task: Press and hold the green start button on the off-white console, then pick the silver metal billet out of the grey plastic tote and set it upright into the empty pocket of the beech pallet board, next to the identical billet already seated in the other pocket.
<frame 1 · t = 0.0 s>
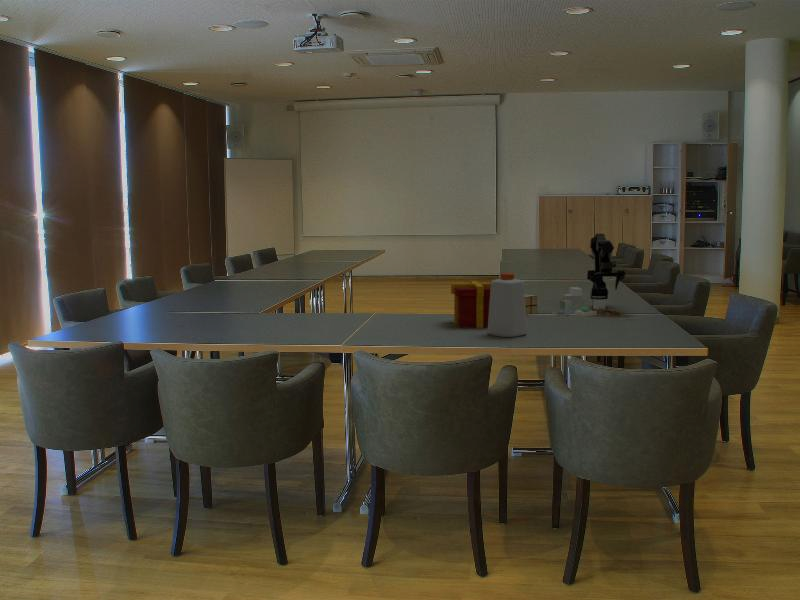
hand: (606, 289, 405), 15 cm above the table, tool tilted 35°, fingers open, 9 cm apart
tote: (565, 315, 420), on the table
pallet board: (604, 315, 417), on the table
button console: (585, 316, 413), on the table
start button: (585, 310, 413), point 4 cm above the table, slide at 0.0 cm
plastic bottle: (507, 335, 364), on the table
gift box: (476, 324, 393), on the table
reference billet: (599, 312, 421), point 1 cm above the table, touching pallet board
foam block: (569, 303, 472), on the table
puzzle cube: (524, 314, 426), on the table
billet: (565, 314, 419), point 1 cm above the table, touching tote
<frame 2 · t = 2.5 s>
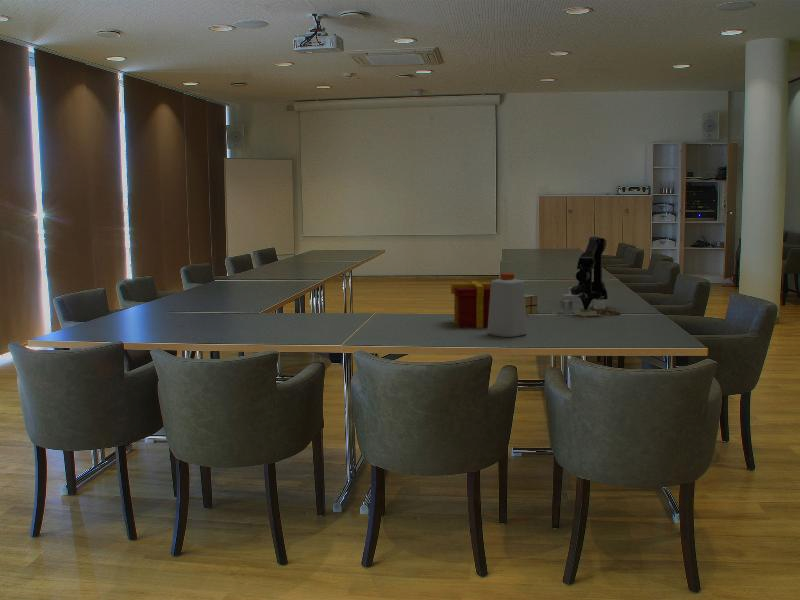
hand: (585, 309, 413), 4 cm above the table, tool pointing down, fingers closed, pressing on start button
start button: (585, 312, 413), point 2 cm above the table, slide at 1.3 cm, touching gripper
everything else where it was.
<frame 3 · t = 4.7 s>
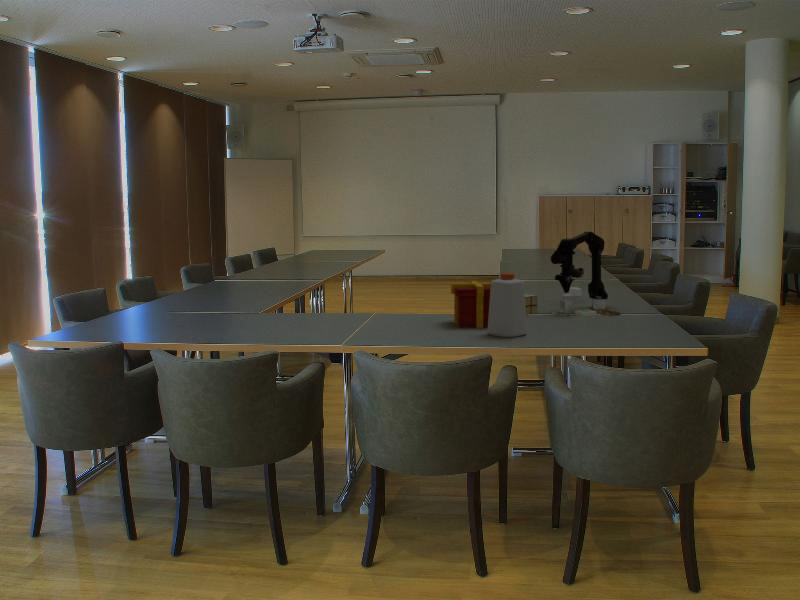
hand: (566, 292, 418), 12 cm above the table, tool pointing down, fingers closed
start button: (585, 312, 413), point 2 cm above the table, slide at 1.3 cm
everything else where it was.
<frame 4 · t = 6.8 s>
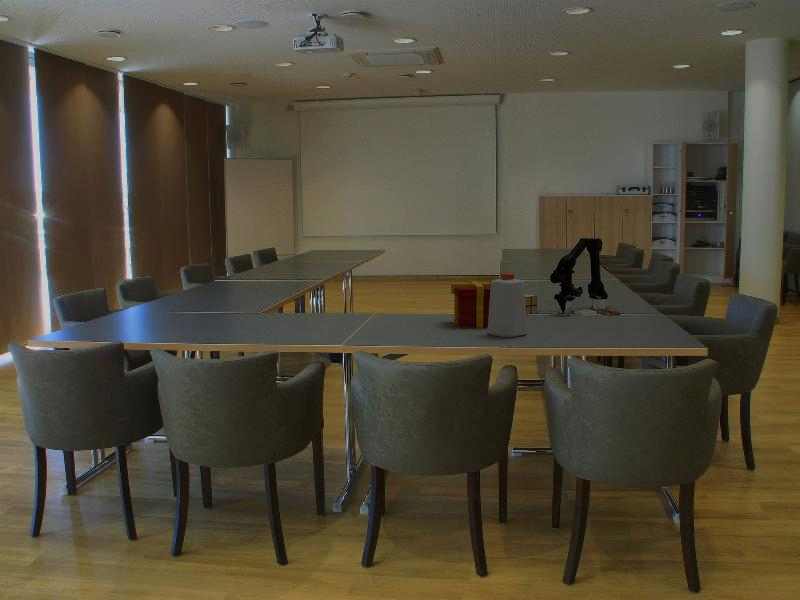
hand: (565, 311, 419), 2 cm above the table, tool pointing down, fingers closed on billet, 6 cm apart
billet: (565, 314, 419), point 1 cm above the table, touching gripper, tote
everything else where it was.
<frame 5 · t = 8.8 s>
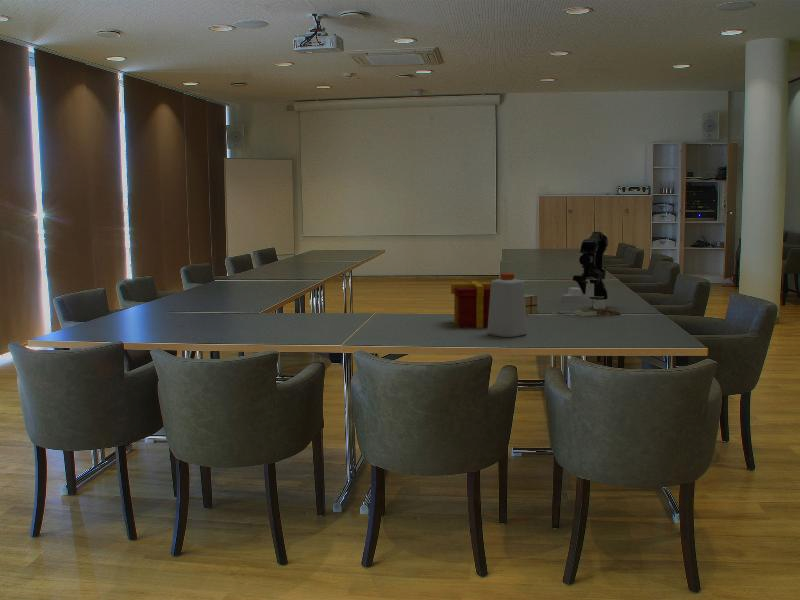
hand: (588, 293, 414), 12 cm above the table, tool pointing down, fingers closed on billet, 6 cm apart
billet: (588, 296, 415), point 10 cm above the table, touching gripper
everything else where it was.
when the fingers open (5 cm above the table, at t = 11.2 s): billet drops 2 cm, resting on pallet board.
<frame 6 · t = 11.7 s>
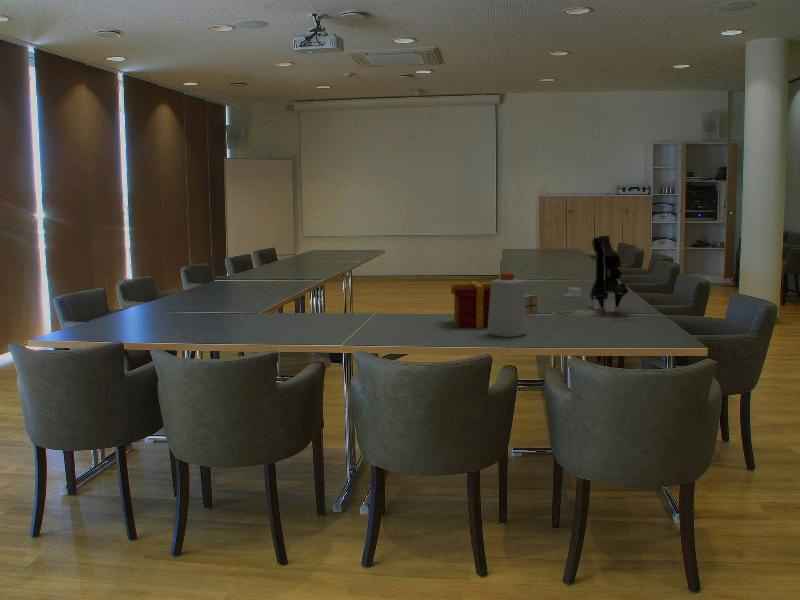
hand: (609, 307, 412), 5 cm above the table, tool pointing down, fingers open, 9 cm apart
billet: (609, 314, 412), point 1 cm above the table, touching pallet board
everything else where it was.
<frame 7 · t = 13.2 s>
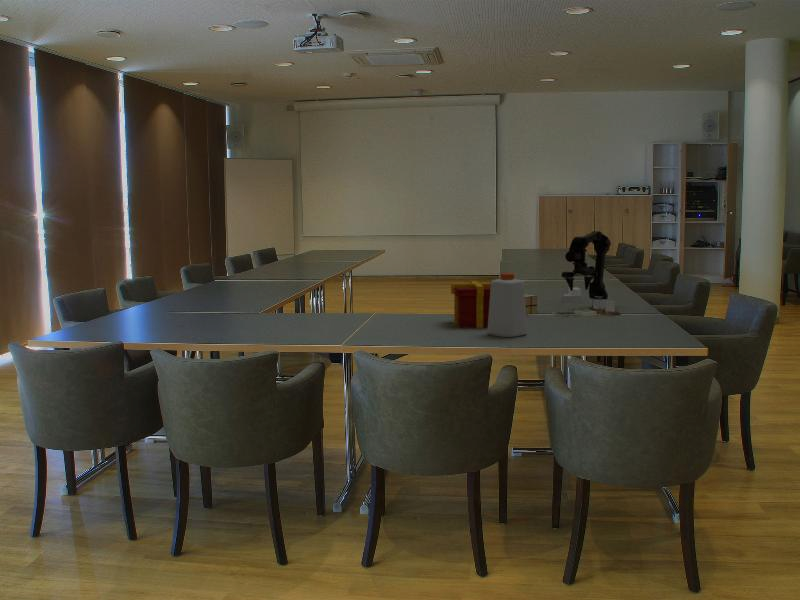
hand: (579, 290, 419), 13 cm above the table, tool pointing down, fingers open, 9 cm apart
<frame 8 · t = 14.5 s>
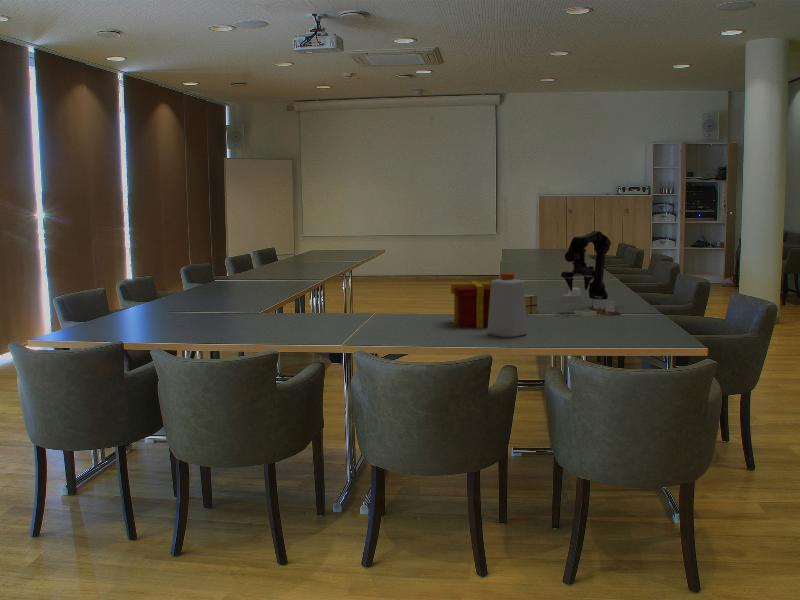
hand: (578, 290, 420), 13 cm above the table, tool pointing down, fingers open, 9 cm apart
at the end: billet 0.0 cm from the target spot on the pallet board, point 1.2 cm above the pallet board's base; billet tilted 0°; the gripper is holding nothing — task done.
